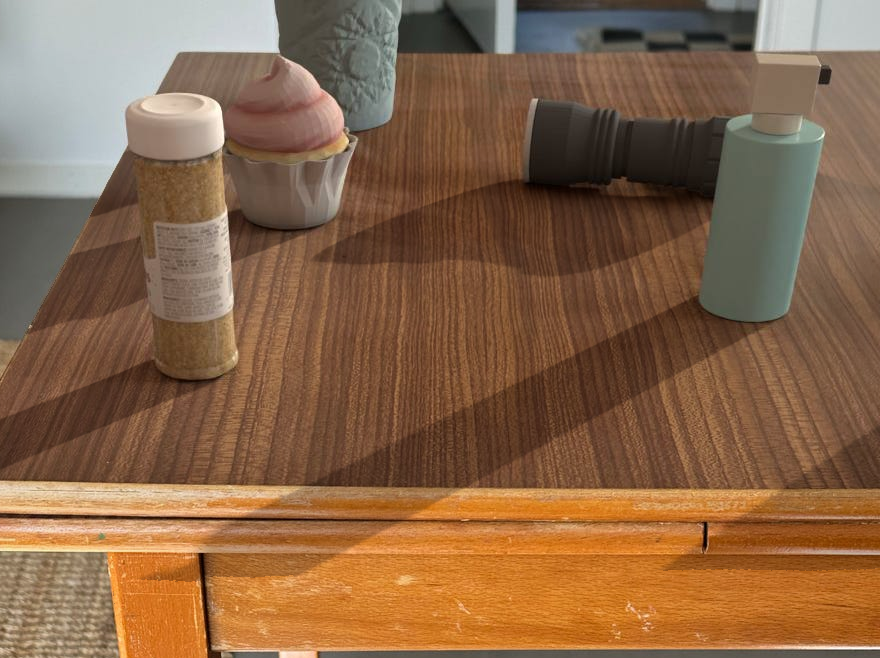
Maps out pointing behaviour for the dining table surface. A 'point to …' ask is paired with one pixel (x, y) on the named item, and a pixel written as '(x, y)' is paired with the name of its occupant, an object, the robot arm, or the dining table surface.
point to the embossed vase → (345, 52)
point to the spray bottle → (764, 192)
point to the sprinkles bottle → (184, 232)
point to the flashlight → (620, 148)
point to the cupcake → (287, 149)
